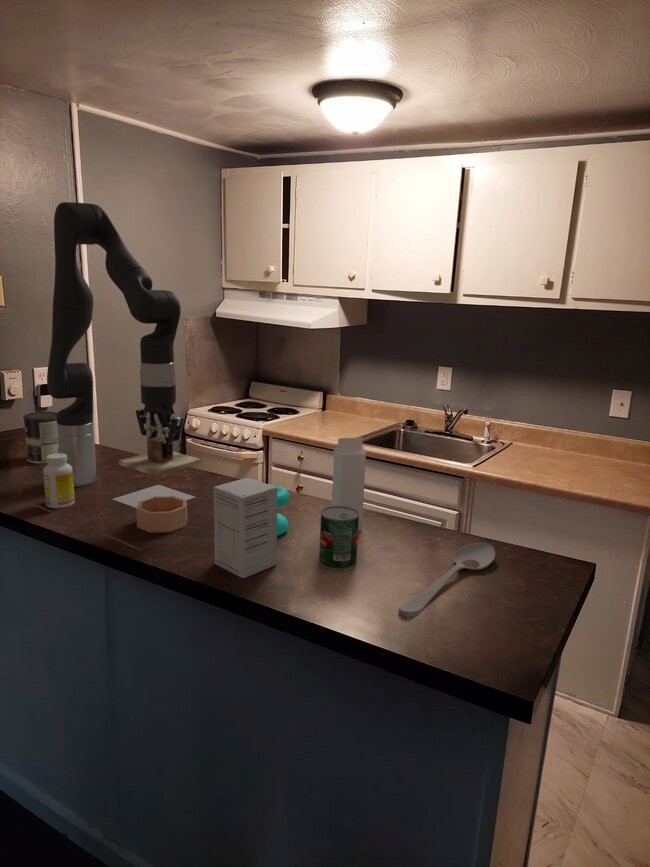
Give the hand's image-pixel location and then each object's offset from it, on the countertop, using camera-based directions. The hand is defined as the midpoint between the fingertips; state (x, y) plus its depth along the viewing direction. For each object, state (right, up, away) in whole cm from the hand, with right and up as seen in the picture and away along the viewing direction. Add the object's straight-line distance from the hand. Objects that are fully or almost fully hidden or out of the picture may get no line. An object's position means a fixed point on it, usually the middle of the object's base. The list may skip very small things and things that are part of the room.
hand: (160, 456), depth 137 cm
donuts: (+24, -18, +3) cm, 30 cm away
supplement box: (+21, -22, -14) cm, 34 cm away
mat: (-7, -12, +20) cm, 24 cm away
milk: (+43, -17, +7) cm, 47 cm away
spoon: (+62, -25, -18) cm, 69 cm away
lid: (0, -2, +1) cm, 2 cm away
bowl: (-1, -16, +4) cm, 17 cm away
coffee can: (-50, -3, +50) cm, 71 cm away
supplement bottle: (-29, -13, +14) cm, 35 cm away
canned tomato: (+40, -22, -12) cm, 47 cm away
